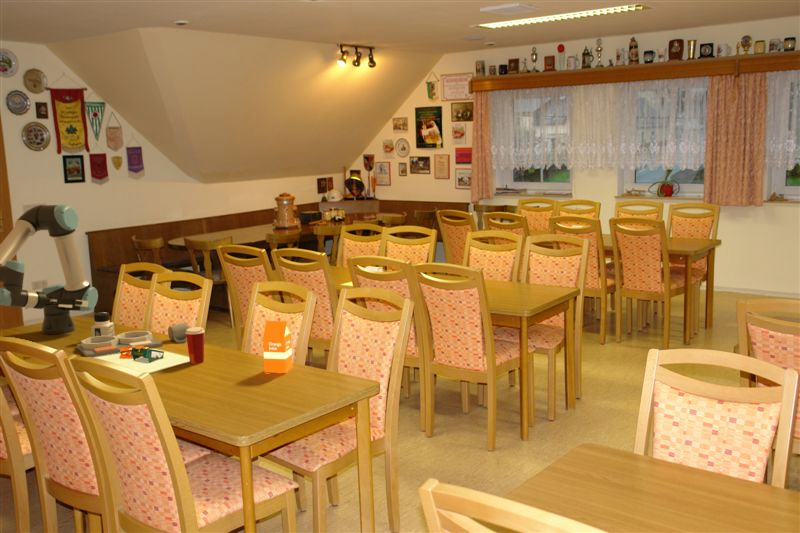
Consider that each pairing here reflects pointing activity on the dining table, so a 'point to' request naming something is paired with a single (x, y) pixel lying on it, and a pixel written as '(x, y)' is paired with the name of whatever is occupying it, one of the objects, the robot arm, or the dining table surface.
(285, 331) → the orange juice
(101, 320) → the container
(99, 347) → the ring board
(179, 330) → the ceramic mug
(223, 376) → the dining table surface
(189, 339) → the paper cup
